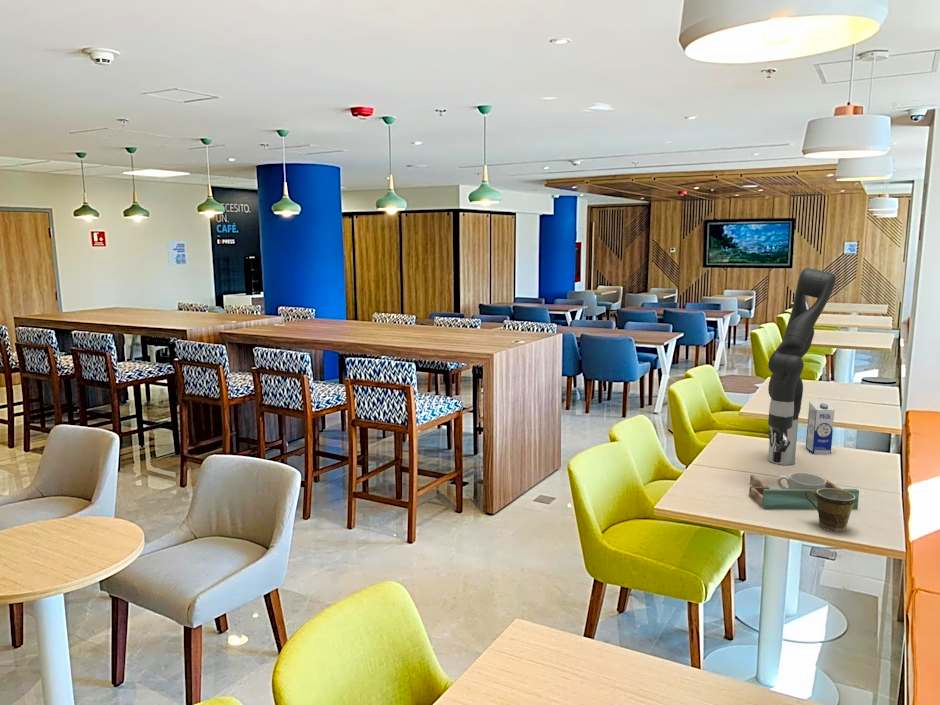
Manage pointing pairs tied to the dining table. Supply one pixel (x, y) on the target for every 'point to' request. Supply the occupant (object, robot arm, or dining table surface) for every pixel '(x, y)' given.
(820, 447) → the milk carton
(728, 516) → the dining table surface
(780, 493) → the teal wooden tray
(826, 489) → the ceramic cup
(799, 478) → the teacup
